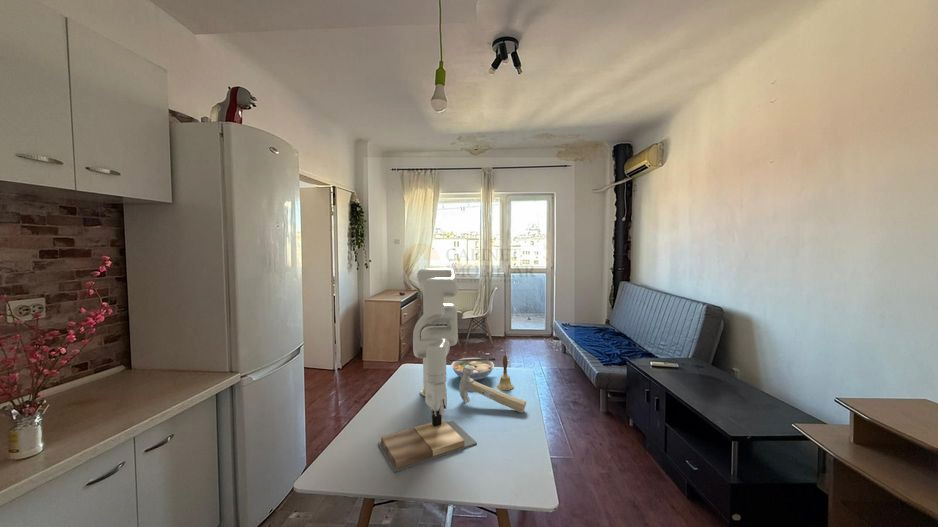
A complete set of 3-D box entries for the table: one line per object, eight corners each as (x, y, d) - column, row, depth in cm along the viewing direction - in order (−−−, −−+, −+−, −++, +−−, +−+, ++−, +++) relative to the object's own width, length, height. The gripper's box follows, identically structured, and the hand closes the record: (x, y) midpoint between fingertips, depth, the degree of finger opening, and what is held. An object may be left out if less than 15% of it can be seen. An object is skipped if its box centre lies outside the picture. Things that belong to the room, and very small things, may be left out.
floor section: (378, 444, 123) (377, 436, 123) (453, 421, 138) (453, 415, 138) (394, 472, 107) (394, 464, 107) (476, 444, 122) (476, 437, 122)
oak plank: (413, 432, 129) (413, 427, 129) (443, 424, 135) (443, 419, 135) (432, 456, 114) (432, 450, 114) (464, 445, 120) (464, 440, 120)
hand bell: (493, 386, 173) (493, 354, 172) (505, 382, 178) (505, 351, 177) (504, 392, 166) (504, 359, 165) (517, 387, 171) (517, 355, 170)
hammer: (529, 388, 146) (466, 363, 158) (527, 392, 142) (462, 366, 154) (521, 422, 149) (459, 395, 160) (518, 427, 144) (455, 399, 156)
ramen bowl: (448, 387, 172) (448, 371, 171) (449, 370, 194) (449, 356, 194) (498, 386, 172) (498, 370, 172) (494, 370, 195) (494, 355, 195)
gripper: (419, 372, 135) (420, 418, 135) (435, 385, 122) (436, 436, 123) (436, 369, 138) (437, 414, 139) (454, 381, 125) (454, 430, 126)
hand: (436, 424), depth 131 cm, fingers closed
